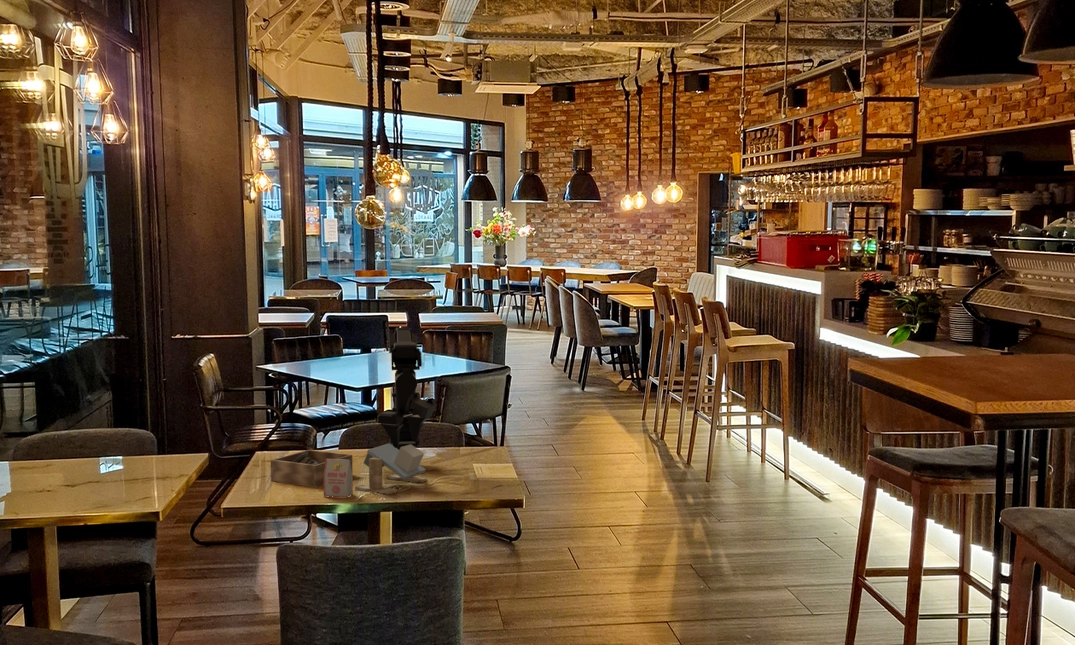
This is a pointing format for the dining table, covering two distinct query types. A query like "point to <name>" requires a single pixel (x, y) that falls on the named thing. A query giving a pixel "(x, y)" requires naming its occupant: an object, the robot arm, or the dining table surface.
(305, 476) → the open wooden box
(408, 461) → the pale grey cube
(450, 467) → the dining table surface
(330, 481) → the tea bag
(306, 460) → the chocolate cake
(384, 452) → the dark grey slab
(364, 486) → the stand
